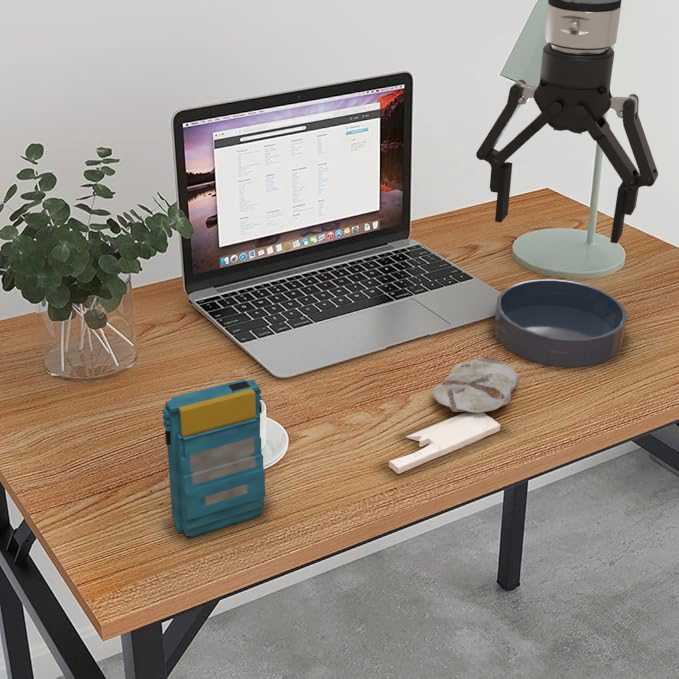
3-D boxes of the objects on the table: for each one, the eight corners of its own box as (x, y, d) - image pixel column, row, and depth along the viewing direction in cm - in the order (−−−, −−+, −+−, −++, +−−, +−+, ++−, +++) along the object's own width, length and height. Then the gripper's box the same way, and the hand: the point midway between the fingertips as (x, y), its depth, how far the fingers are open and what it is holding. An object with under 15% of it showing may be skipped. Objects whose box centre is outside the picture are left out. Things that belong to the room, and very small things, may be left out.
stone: (498, 431, 123) (501, 407, 121) (423, 413, 126) (425, 389, 124) (523, 384, 133) (526, 361, 131) (453, 367, 135) (455, 345, 134)
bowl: (633, 321, 147) (638, 295, 145) (605, 379, 134) (609, 352, 132) (515, 294, 153) (518, 269, 151) (476, 347, 140) (479, 321, 138)
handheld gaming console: (255, 495, 112) (253, 374, 105) (272, 517, 109) (270, 395, 102) (167, 521, 108) (158, 398, 101) (182, 546, 105) (174, 420, 98)
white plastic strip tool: (370, 451, 119) (370, 443, 119) (471, 411, 127) (472, 403, 126) (398, 474, 116) (398, 466, 115) (500, 431, 123) (501, 423, 123)
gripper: (456, 40, 115) (445, 221, 126) (694, 68, 106) (660, 260, 117) (478, 24, 121) (466, 199, 132) (705, 50, 112) (672, 234, 123)
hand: (557, 228), depth 124 cm, fingers open, 13 cm apart
